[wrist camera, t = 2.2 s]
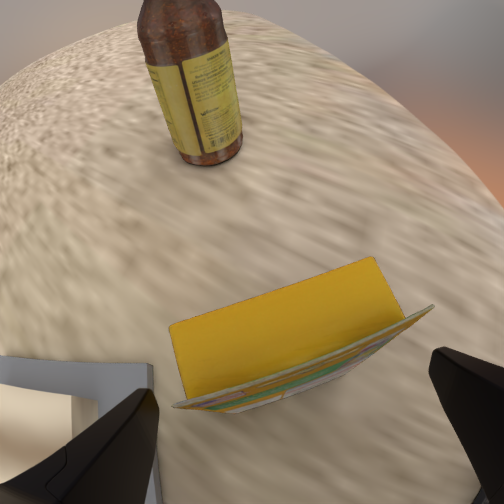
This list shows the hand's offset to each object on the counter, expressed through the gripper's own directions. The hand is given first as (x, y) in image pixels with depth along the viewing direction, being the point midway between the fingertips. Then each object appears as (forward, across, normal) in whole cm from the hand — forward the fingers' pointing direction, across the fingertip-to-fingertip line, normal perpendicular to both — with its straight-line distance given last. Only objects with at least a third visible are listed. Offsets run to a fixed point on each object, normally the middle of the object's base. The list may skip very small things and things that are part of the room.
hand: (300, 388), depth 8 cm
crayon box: (+8, 0, +6) cm, 10 cm away
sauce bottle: (+22, +4, -8) cm, 24 cm away
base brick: (+3, +16, +10) cm, 19 cm away
